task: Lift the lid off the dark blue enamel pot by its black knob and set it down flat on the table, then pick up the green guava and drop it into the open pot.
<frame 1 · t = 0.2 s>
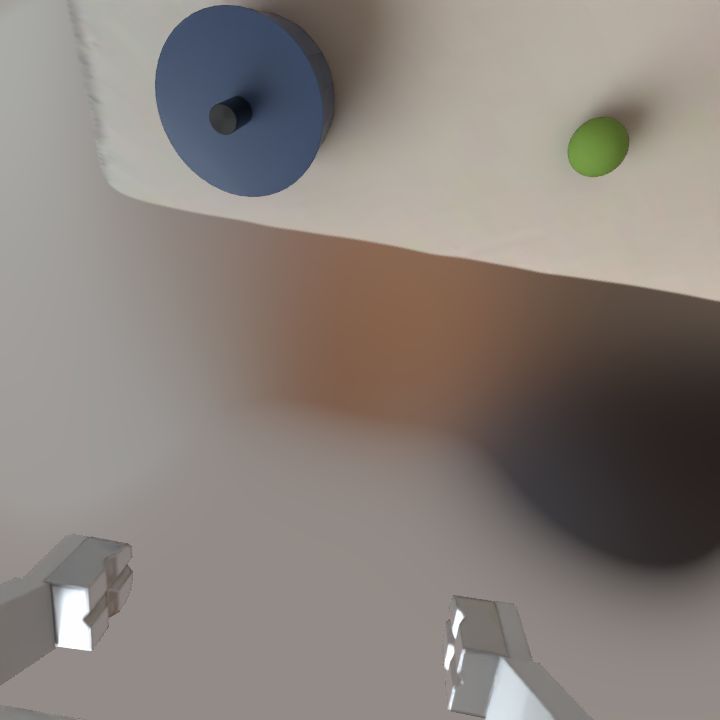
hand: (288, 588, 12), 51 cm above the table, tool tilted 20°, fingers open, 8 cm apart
pot: (267, 95, 52), on the table
guava: (597, 147, 49), point 3 cm above the table
pot lid: (240, 110, 44), point 9 cm above the table, touching pot
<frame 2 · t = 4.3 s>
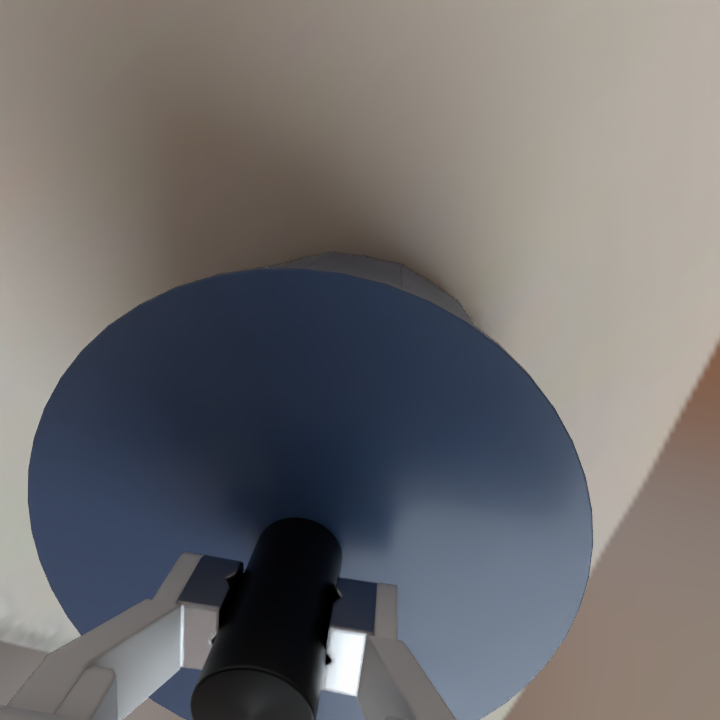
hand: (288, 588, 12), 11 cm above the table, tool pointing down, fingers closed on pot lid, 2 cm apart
pot: (341, 410, 23), on the table
pot lid: (302, 541, 14), point 9 cm above the table, touching gripper, pot
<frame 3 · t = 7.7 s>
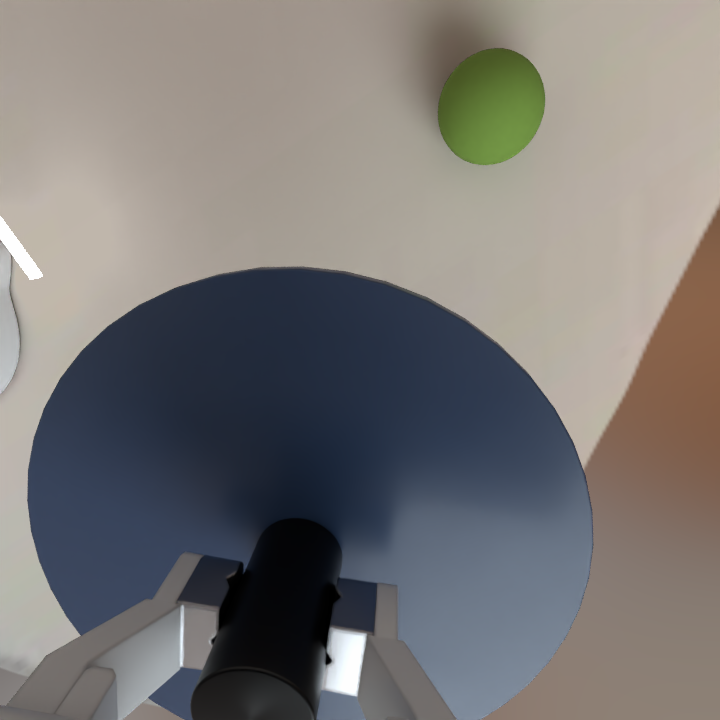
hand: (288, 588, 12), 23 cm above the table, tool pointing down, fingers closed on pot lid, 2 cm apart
guava: (489, 109, 26), point 3 cm above the table
pot lid: (302, 542, 14), point 21 cm above the table, touching gripper
when the fingers open (2 cm above the table, at t = 11.6 s): pot lid stays where it is, point 1 cm above the table.
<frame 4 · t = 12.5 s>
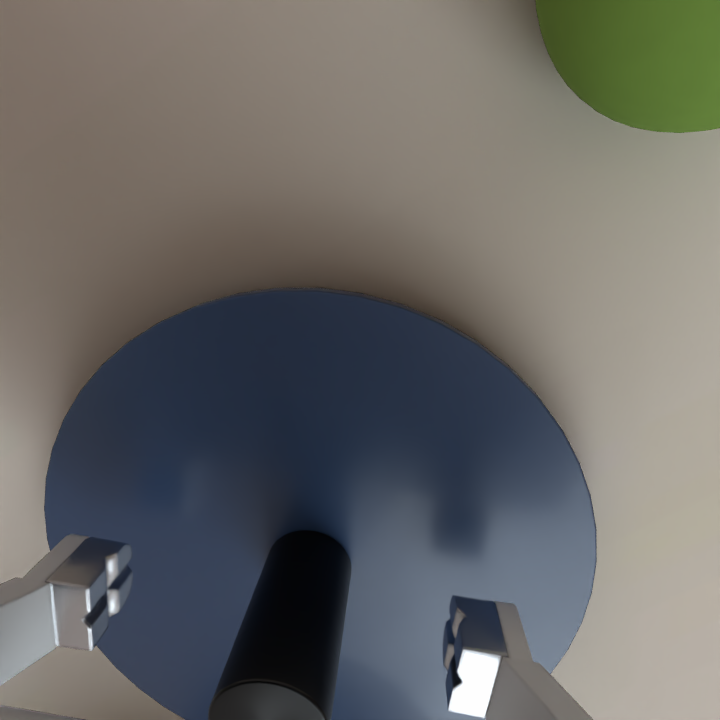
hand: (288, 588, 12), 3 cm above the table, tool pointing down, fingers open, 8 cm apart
pot lid: (312, 553, 14), point 1 cm above the table
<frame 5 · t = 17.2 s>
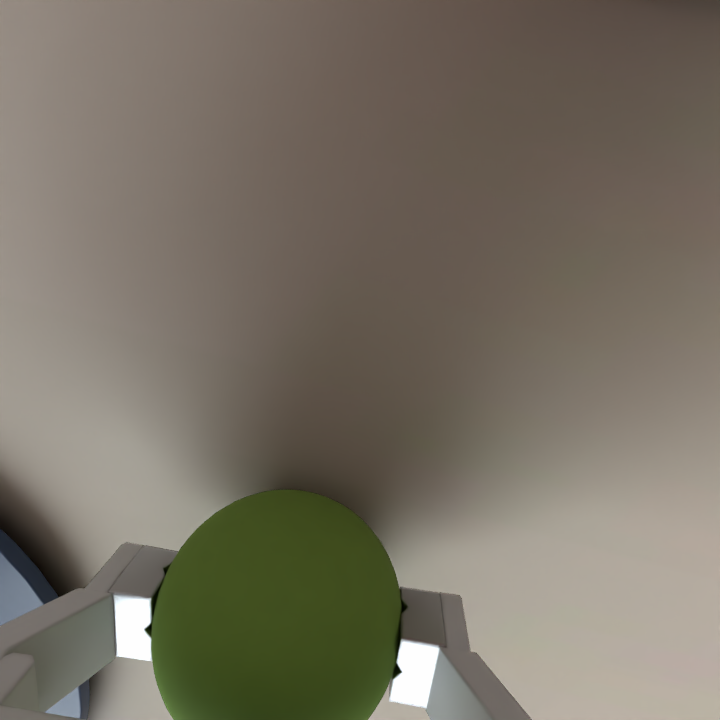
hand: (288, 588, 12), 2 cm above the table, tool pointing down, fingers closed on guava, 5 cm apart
guava: (281, 613, 11), point 3 cm above the table, touching gripper
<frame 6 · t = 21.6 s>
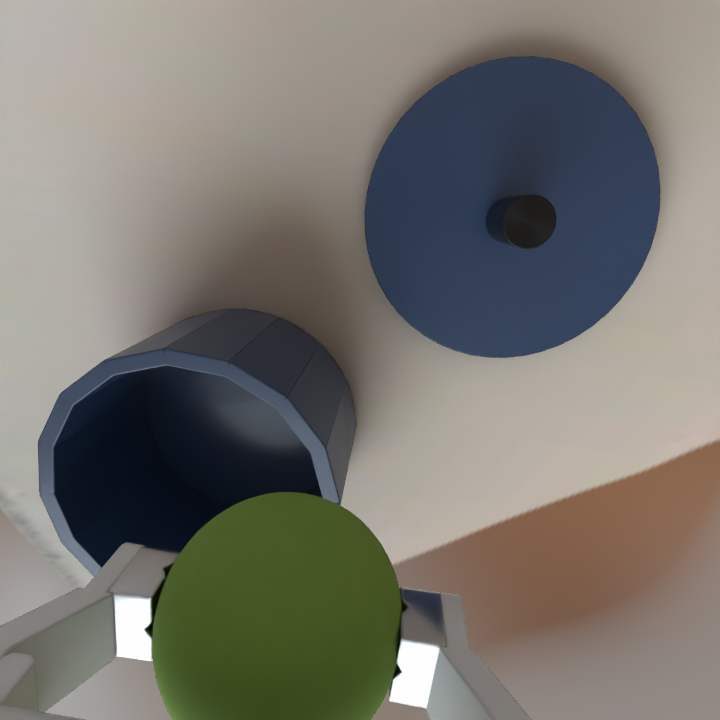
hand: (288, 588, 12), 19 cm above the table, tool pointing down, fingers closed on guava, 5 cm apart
pot: (246, 417, 32), on the table
guava: (282, 616, 11), point 20 cm above the table, touching gripper
pot lid: (506, 220, 27), point 1 cm above the table
when the fingers open (6 cm above the table, at t = 26.2 s): guava drops 3 cm, resting on pot.
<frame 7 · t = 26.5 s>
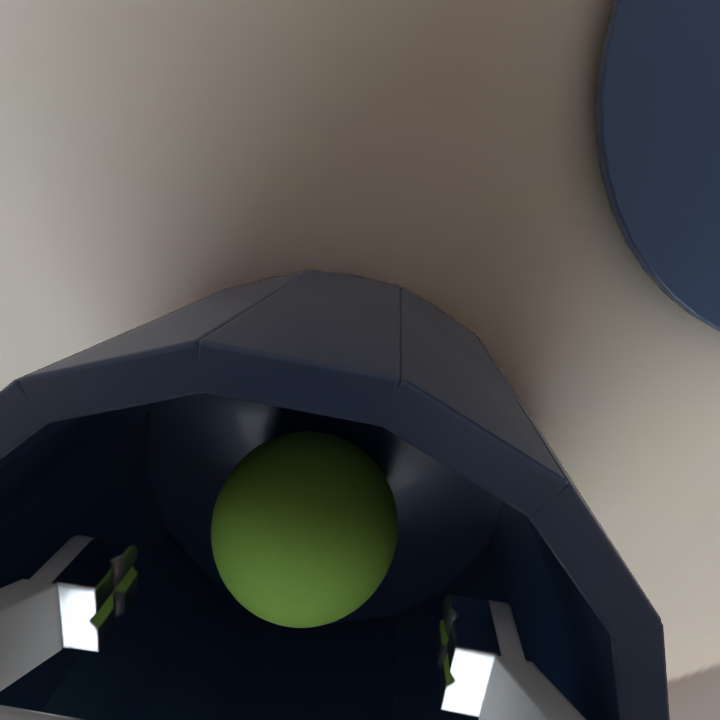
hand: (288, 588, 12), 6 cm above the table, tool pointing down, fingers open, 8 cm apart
pot: (324, 470, 18), on the table
guava: (306, 523, 15), point 3 cm above the table, touching pot
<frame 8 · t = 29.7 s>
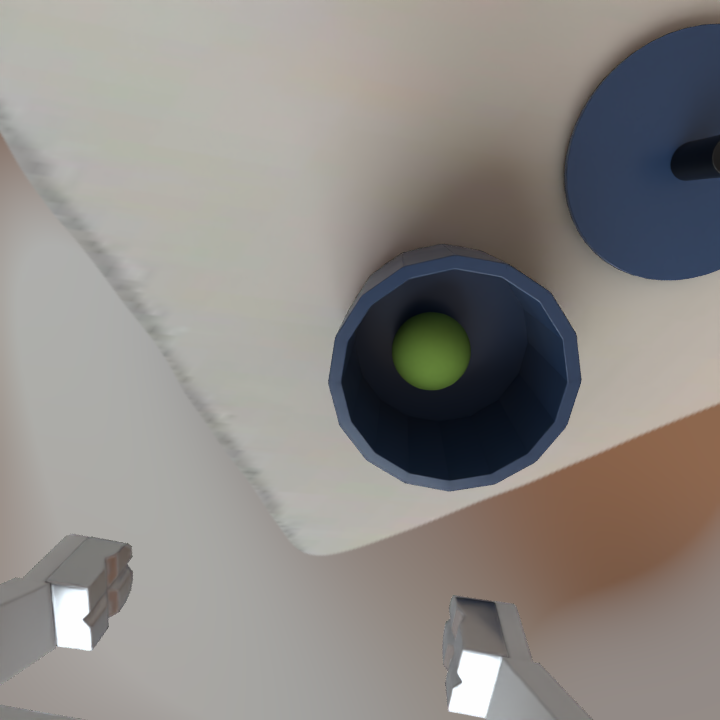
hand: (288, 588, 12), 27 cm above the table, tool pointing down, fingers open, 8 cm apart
pot: (439, 340, 38), on the table
guava: (430, 351, 34), point 3 cm above the table, tilted 19°, touching pot
pot lid: (685, 162, 32), point 1 cm above the table
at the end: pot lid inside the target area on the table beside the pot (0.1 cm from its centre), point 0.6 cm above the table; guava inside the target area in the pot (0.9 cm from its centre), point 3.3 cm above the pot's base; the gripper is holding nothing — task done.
